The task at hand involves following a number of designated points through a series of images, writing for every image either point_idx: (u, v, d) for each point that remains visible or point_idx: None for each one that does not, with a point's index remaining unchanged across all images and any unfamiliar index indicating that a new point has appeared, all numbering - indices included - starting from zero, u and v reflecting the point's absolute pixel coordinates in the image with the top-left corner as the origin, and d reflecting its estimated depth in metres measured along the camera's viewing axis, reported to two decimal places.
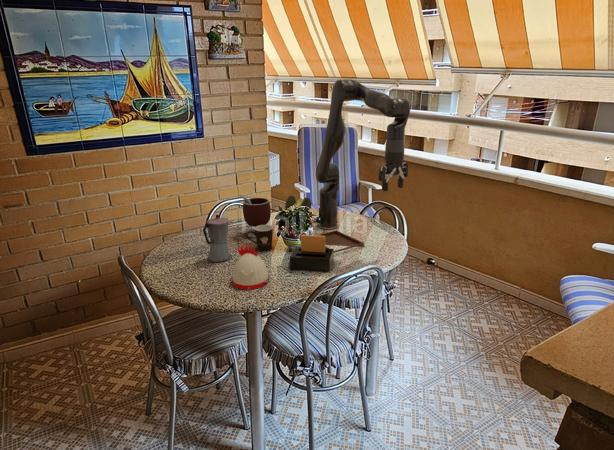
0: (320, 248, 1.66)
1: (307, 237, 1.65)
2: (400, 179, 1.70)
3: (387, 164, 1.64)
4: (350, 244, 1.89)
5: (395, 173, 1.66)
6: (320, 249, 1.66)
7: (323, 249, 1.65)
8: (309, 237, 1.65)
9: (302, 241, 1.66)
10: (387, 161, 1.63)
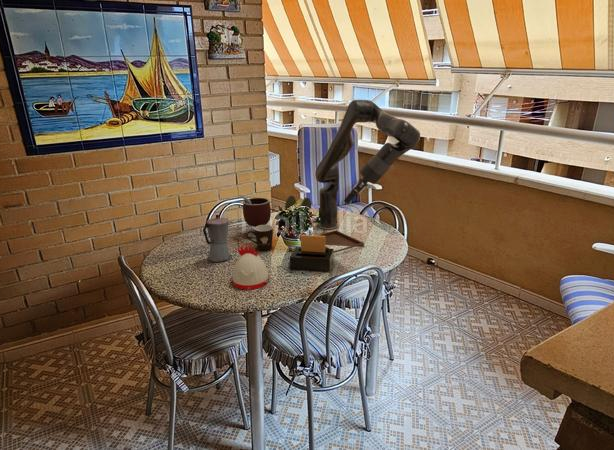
0: (320, 248, 1.66)
1: (307, 237, 1.65)
2: (355, 191, 1.61)
3: (365, 180, 1.51)
4: (350, 244, 1.89)
5: None
6: (320, 249, 1.66)
7: (323, 249, 1.65)
8: (309, 237, 1.65)
9: (302, 241, 1.66)
10: (367, 178, 1.51)
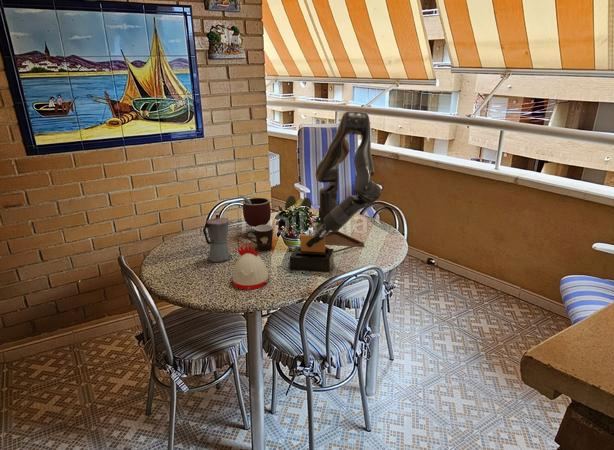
0: (320, 247, 1.66)
1: (307, 237, 1.65)
2: None
3: (327, 229, 1.59)
4: (350, 244, 1.89)
5: None
6: (320, 249, 1.66)
7: (323, 249, 1.65)
8: (309, 237, 1.65)
9: (302, 241, 1.66)
10: (329, 227, 1.58)
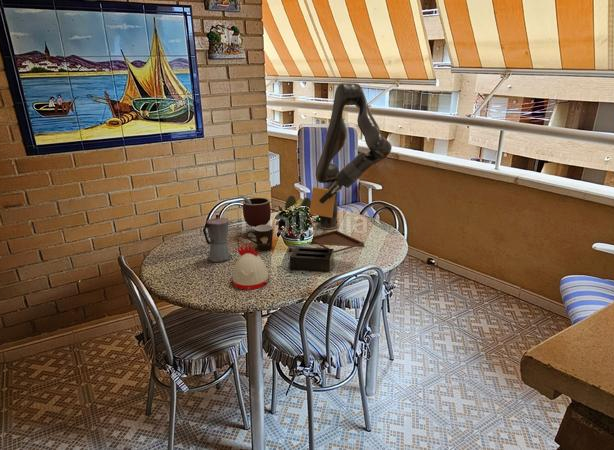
0: (329, 201, 1.74)
1: (319, 189, 1.73)
2: None
3: (339, 185, 1.67)
4: (350, 244, 1.89)
5: None
6: (329, 203, 1.74)
7: (332, 203, 1.74)
8: (320, 190, 1.73)
9: (313, 193, 1.74)
10: (341, 182, 1.67)
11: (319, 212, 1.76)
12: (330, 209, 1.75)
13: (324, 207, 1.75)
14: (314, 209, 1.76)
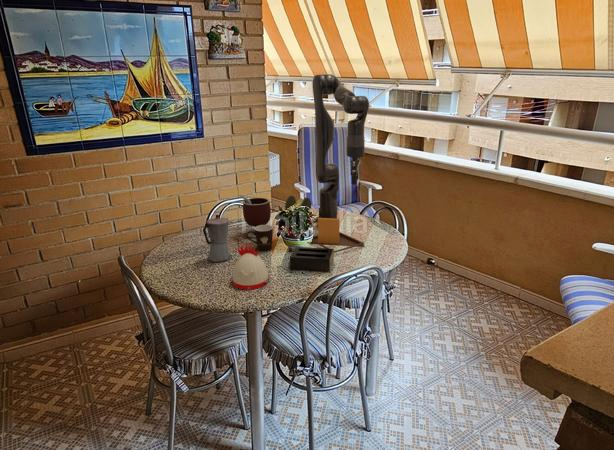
0: (335, 229, 1.88)
1: (323, 220, 1.88)
2: (356, 172, 1.82)
3: (354, 159, 1.72)
4: (350, 244, 1.89)
5: None
6: (335, 231, 1.89)
7: (337, 230, 1.88)
8: (325, 220, 1.88)
9: (319, 223, 1.89)
10: (354, 156, 1.72)
11: (327, 240, 1.91)
12: (337, 236, 1.89)
13: (331, 235, 1.90)
14: (322, 238, 1.91)
